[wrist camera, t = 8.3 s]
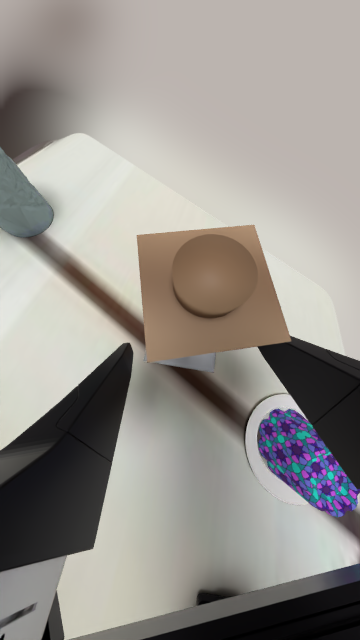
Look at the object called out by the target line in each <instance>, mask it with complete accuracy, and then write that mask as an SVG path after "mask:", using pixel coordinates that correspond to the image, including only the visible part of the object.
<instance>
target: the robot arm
mask: <svg viewBox="0 0 360 640" xmlns="http://www.w3.org/2000/svg"><path fill="white" fill-rule="evenodd" d="M290 338H291V341H290V342H283V343H277V344H270V345H263V346H257V347H258V349H259V350H260V352H261V354H262V355H263V357H264V358H265V360H266V361H267V363H268V364H269V366H270V367H271V368H272V370H273V371H274V373H275V374H276V375H277V377H278V378H279V380H280V381H281V383H282V384H283V385H284V387H285V388H286V390H287V391H288V393H289V394H290V395H291V397H292V398H293V400H294V401H295V402H296V404H297V405H298V407H299V408H300V410H301V411H302V412H303V414H304V415H305V417H306V418H307V420H308V421H309V422H310V424H311V425H312V427H313V428H314V430H315V431H316V432H317V434H318V435H319V437H320V438H321V440H322V441H323V442H324V444H325V445H326V447H327V448H328V450H329V451H330V452H331V454H332V455H333V457H334V458H335V459H336V461H337V462H338V464H339V465H340V467H341V468H342V469H343V471H344V472H345V474H346V475H347V477H348V478H349V479H350V481H351V482H352V483H353V485H354V486H355V487H356V488H357V489H360V361H358V360H355V359H352V358H349V357H347V356H344V355H341V354H338V353H335V352H333V351H330V350H327V349H324V348H322V347H319V346H316V345H314V344H311V343H308V342H306V341H303V340H300V339H297V338H295V337H292V336H290ZM132 362H133V350H132V347H131V345H130V343H123V344H122V345H121V346H120V347H119V348H118V349H117V350H115V351H114V352H113V353H112V354H111V355H110V356H109V357H108V358H107V359H106V360H105V361H104V362H103V363H101V364H100V365H99V366H98V367H97V368H96V369H95V370H94V371H93V372H92V373H91V374H90V375H89V376H87V377H86V378H85V379H84V380H83V381H82V382H81V383H80V384H79V385H78V386H77V387H76V388H74V389H73V390H72V391H71V392H70V393H69V394H68V395H67V396H66V397H65V398H63V399H62V400H61V401H60V402H59V403H58V404H57V405H55V406H54V407H53V408H52V409H51V410H50V411H48V412H47V413H46V414H45V415H44V416H42V417H41V418H40V419H39V420H38V421H36V422H35V423H34V424H33V425H32V426H30V427H29V428H28V429H27V430H26V431H24V432H23V433H22V434H21V435H20V436H18V437H17V438H16V439H15V440H14V441H12V442H11V443H10V444H9V445H7V446H6V447H5V448H3V449H2V450H1V451H0V640H64V632H63V626H62V620H61V614H60V607H59V601H58V595H57V587H58V583H59V580H60V577H61V573H62V570H63V567H64V564H65V560H66V557H67V555H70V554H74V553H78V552H82V551H86V550H90V549H93V547H94V543H95V539H96V535H97V530H98V525H99V521H100V516H101V512H102V507H103V502H104V498H105V493H106V489H107V484H108V480H109V475H110V470H111V466H112V461H113V456H114V452H115V447H116V442H117V438H118V433H119V429H120V424H121V420H122V415H123V410H124V406H125V401H126V397H127V392H128V388H129V383H130V378H131V372H132ZM69 640H360V564H356V565H352V566H348V567H344V568H341V569H337V570H333V571H329V572H325V573H321V574H318V575H314V576H310V577H306V578H302V579H299V580H295V581H291V582H287V583H283V584H279V585H276V586H272V587H268V588H264V589H260V590H257V591H253V592H249V593H245V594H241V595H237V596H234V597H230V598H227V597H222V596H216V595H210V594H205V593H200V594H199V595H198V597H197V605H196V606H195V607H192V608H188V609H184V610H180V611H176V612H173V613H169V614H165V615H161V616H157V617H153V618H150V619H146V620H142V621H138V622H134V623H130V624H127V625H123V626H119V627H115V628H111V629H108V630H104V631H100V632H96V633H92V634H88V635H85V636H81V637H77V638H73V639H69Z"/></svg>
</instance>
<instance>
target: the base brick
mask: <svg viewBox="0 0 360 640" xmlns="http://www.w3.org/2000/svg"><path fill="white" fill-rule="evenodd" d="M215 356H216V353H209V354H202V355H196V356H189V357H182V358H175V359H169V360H162V361H155V362H153V363H159V364H165V365H171V366H177V367H183V368H189V369H195V370H201V371H207V372H213V373H214V366H215ZM144 361H147V354H146V352H145V356H144Z"/></svg>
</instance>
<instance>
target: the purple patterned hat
mask: <svg viewBox="0 0 360 640" xmlns="http://www.w3.org/2000/svg"><path fill="white" fill-rule="evenodd" d="M280 407H286V408H291V409H288V410H286V411H285V412H284V411H282V410H280V409H276V408H280ZM273 409H275V410H273ZM292 409H294V410H292ZM271 410H273V411H272V412H270V415H269V419H265V420H263V421H262V422H261V420H262V419H263V417H264V416H265V415H266V414H267V413H268V412H269V411H271ZM295 410H296V411H298V412H300V413H301V414H302V415H304V414H303V412H302V411H301V410H300V408H299V407H298V405H297V404H296V402H295V401H294V400H293V398H292V397H291V395H288V394H279V395H274V396H271V397H269V398H267V399H265V400H263V401H262V402H261V403H260V404H259V405H258V406H257V407H256V408H255V410H254V411H253V413H252V415H251V416H250V418H249V421H248V425H247V429H246V452H247V457H248V460H249V464H250V466H251V468H252V471H253V473H254V475H255V476H256V478H257V479H258V481H259V483H260V484H261V485H262V486H263V487H264V488H265V489H266V491H268V492H269V493H270V494H271V495H272V496H274V497H275V498H277V499H279V500H281V501H282V502H285V503H288V504H292V505H306V504H311V505H312V506H314V507H315V508H317V509H319V510H321V511H325V512H326V513H328V514H330V515H332V516H335V517H340V516H344V515H345V513H346V511H353V510H354V509H355V508H356V506H357V504H358V501H357V495H358V494H359V493H360V489H357V488H356V487H355V486H354V485H353V483H352V482H351V481H350V479H349V478H348V477H347V475H346V474H345V472H344V471H343V469H342V468H341V467H340V465H339V464H338V462H337V461H336V459H335V458H334V457H333V455H332V454H331V452H330V451H329V450H328V448H327V447H326V445H325V444H324V442H323V441H322V440H321V438H320V437H319V435H318V434H317V432H316V431H315V430H314V428H313V427H312V425H311V424H310V422H309V421H307V420H306V419H305V418H304V417H303V416H302V415H300V414H299V413H298V412H296V411H295ZM304 416H305V415H304ZM260 422H261V424H260ZM259 424H260V428H259ZM258 428H259V431H260V434H261V439H260V440H259V442H258V444H259V450H260V453H261V455H262V456H263V457H264V458H265V459H267V464H268V467H269V469H270V470H271V472H272V473H274V474H275V475H276V476H277V477H278V478H277V477H276V476H275V475H273V474H272V473H271V472H270V471H269V470H268V469H267V467H266V466H265V464H264V463H263V461H262V459H261V457H260V454H259V450H258V445H257V432H258ZM279 478H280V479H279Z"/></svg>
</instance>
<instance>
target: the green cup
mask: <svg viewBox="0 0 360 640" xmlns="http://www.w3.org/2000/svg"><path fill="white" fill-rule="evenodd" d="M52 220H53V210H52V208H51V207H50V205H49V204H48V203H47V201H46V200H45V199H44V198H43V197H42V195H41V194H40V193H39V192H38V191H37V190H36V188H35V187H34V186H33V185H32V184H31V183H30V182H29V181H28V179H27V177H26V176H25V175H24V174H23V173H22V171H21V170H20V169H19V168H18V167H17V165H16V164H15V163H14V162H13V160H12V159H11V158H10V157H9V156H7V155H6V154H5V153H4V151H3V150H2V149H1V147H0V228H2V229H3V230H5V231H7V232H8V233H10V234H12V235H14V236H17V237H31V236H35V235H37V234H40V233H42V232H43V231H44V230H46V229H47V228H48V227H49V226H50V224H51V222H52Z"/></svg>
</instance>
